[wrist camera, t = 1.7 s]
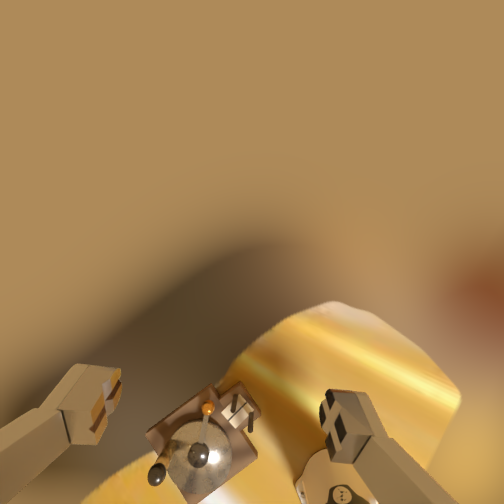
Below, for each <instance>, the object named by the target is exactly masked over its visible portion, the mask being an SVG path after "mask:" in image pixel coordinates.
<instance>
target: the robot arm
mask: <svg viewBox="0 0 504 504" xmlns="http://www.w3.org/2000/svg"><path fill="white" fill-rule="evenodd" d="M120 375H121V371H120V368H111V367H103V366H95V365H86V364H75V365H74V366H73V367H71V368H70V370H69V371H68V372H67V373H66V375H65V376H64V377H63V378H62V380H61V381H60V383H58V385H57V386H56V387H55V388H54V390H53V391H52V392H51V393H50V395H49V396H48V397H47V398H46V400H45V401H44V402H43V403H42V405H41V406H40V407H39V408H33V409H32V410H30V411H28V412H27V413H25V414H24V415H22V416H20V417H19V418H17V419H16V420H14V421H12V422H11V423H9V424H8V425H6V426H4V427H3V428H1V429H0V504H6V503H7V502H9V501H10V500H11V499H12V498H13V497H14V496H15V495H16V494H17V493H18V492H20V491H21V490H22V489H23V488H24V487H25V486H26V485H27V484H28V483H29V482H31V481H32V480H33V479H34V478H35V477H36V476H37V475H38V474H39V473H41V472H42V471H43V470H44V469H45V468H46V467H47V466H48V465H49V464H50V463H52V461H53V460H55V459H56V458H57V457H58V456H59V455H60V454H61V453H63V451H65V450H66V449H67V448H68V447H69V446H70V444H83V445H84V444H85V445H97V443H98V442H99V440H100V437H101V435H102V434H103V432H104V430H105V428H106V426H107V416H108V415H109V414H110V413H112V412H113V411H114V410H115V408H116V406H117V404H118V402H119V398H120V395H121V391H122V382H120V380H119V377H120ZM325 396H326V399H325V400H323V401H322V402H321V405H320V409H319V417H320V423H321V427H322V429H323V430H324V432H325V433H326V434H327V437H326V440H325V443H326V446H327V449H324V450H321V451H319V452H317V453H315V454H314V455H313V456H312V457H311V458H310V459H309V461H308V462H307V464H306V467H305V469H304V472H303V474H302V476H301V477H300V478H299V479H298V480H297V482H296V484H295V487H296V491H297V493H298V496H299V498H300V500H301V503H302V504H377V502H378V503H379V504H458V503H457V502H456V501H455V500H454V499H453V498H452V497H451V496H450V495H449V494H448V493H447V492H446V491H445V490H444V489H443V488H442V487H441V486H440V485H439V484H438V483H437V482H436V481H435V480H434V479H433V478H432V477H431V476H430V475H429V474H428V473H427V472H426V471H425V470H424V469H423V468H422V467H421V466H420V465H419V464H418V463H417V462H416V461H415V460H414V459H413V458H412V457H411V456H410V455H409V454H408V453H407V452H406V451H405V450H404V449H403V448H402V447H401V446H400V445H399V444H398V443H397V442H396V441H395V440H394V439H393V438H389V437H388V435H387V433H386V431H385V429H384V427H383V425H382V423H381V421H380V419H379V417H378V415H377V413H376V410H375V408H374V406H373V404H372V402H371V400H370V398H369V396H368V395H367V394H366V393H365V392H356V391H350V390H338V389H328V390H327V391H326V393H325ZM302 491H303V492H302Z"/></svg>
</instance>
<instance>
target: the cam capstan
mask: <svg viewBox="0 0 504 504" xmlns="http://www.w3.org/2000/svg"><path fill="white" fill-rule="evenodd" d="M214 409H215V405H214V402H213V401H212V400H206V401H204V402H203V404H202V406H201V411H202V413H203V414H204V417H203V419H194V420H190V421H188V422H186V423H184V424H182V425H181V426H180V427H179V428H178V429H177V430H176V431H175V432H174V434H173V435H172V437H171V439H170V440H168V441H167V442H166V444H165V445H164V447H163V449H162V451H161V453H160V455H159V456H158V458H157V460H156V462H155V464H154V465H153V466H152V467H151V468H150V470H149V472H148V482H149V484H150V485H151V486H158V485H160V484H161V483H162V482H163V480H164V479H165V476H166V471H168V474H169V476H170V478H171V479H172V481H173V482H174V483H175V484H176V485H177V486H178V487H179V488H181V489H182V490H184V491H186V492H189V493H192V494H205V493H209V492H211V491H213V490H215V489H216V488H218V487H219V486H220V485H221V484H222V483H223V482H224V480H225V479H226V477H227V475H228V473H229V471H230V467H231V461H232V447H231V443H230V440H229V438H228V436H227V434H226V433H225V431H224V430H223V429H222V428H221V427H220V426H219V425H217V424H216V423H214V422H212V421H210V420H208V419H209V415H211V414H212V413H213V412H214Z"/></svg>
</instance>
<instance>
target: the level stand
mask: <svg viewBox="0 0 504 504" xmlns="http://www.w3.org/2000/svg"><path fill="white" fill-rule="evenodd" d="M206 400H212V401H213V402H214V405H215V409H214V412H213V413H212V414H211V415H209V419H208V420H210V421H212V422H214V423H216V424H217V425H219V426H220V427H221V428H222V429H223V430H224V431H225V433H226V434H227V436H228V438H229V440H230V443H231V447H232V461H231V467H230V471H229V473H228V475H227V477H226V479H225V480H224V482H223V483H222V484H221V485H223V484H224V483H225V482H227V481H228V480H229V479H231V478H232V477H233V476H235V475H236V474H237V473H238V472H240V471H241V470H242V469H244V468H245V467H246V466H248V465H249V464H250V463H252V462H253V461H254V460H256V459H257V456H258V452H257V450H256V449H255V447H254V446H253V444H252V443H251V441H250V440H249V438H248V437H247V435H246V434H245V432H244V431H243V429H244V428H245V427H246V426H248V432H249V433H252V432H253V421H254V420H256V419H257V418H258V417H260V416H261V410H260V409H259V408H258V406H257V405H256V403H255V402H254V400H253V399H252V397H251V396H250V394H249V393H248V391H247V390H246V388H245V387H244V386H243V384H242V383H241V381H240V382H239V383H237V384H236V385H235V386H233V387H232V388H231V389H229V390H228V391H226V392H225V393H224V394H222V395H221V396H220V395H219V394H218V392H217V391H216V389H215V388H214V386H213V385H212V383H211V384H209V385H208V386H207V387H205V388H204V389H203V390H201V391H200V392H199V393H197V394H196V395H194V396H193V397H192V398H191V399H189V400H188V401H186V402H185V403H184V404H182V405H181V406H180V407H178V408H177V409H176V410H174V411H173V412H172V413H170V414H169V415H167V416H166V417H165V418H163V419H162V420H161V421H159V422H158V423H157V424H155V425H154V426H153V427H151V428H150V429H149V430H148V431H147V432H146V434H145V436H146V437H147V439H148V440H149V442H150V443H151V445H152V447H153V449H154V450H155V452H156V453H157V455H158V456H159V455H160V453H161V451H162V449H163V447H164V445H165V444H166V442H167V441H168V440H170V439H171V437H172V435H173V434H174V432H175V431H176V430H177V429H178V428H179V427H180V426H181V425H182V424H184V423H186V422H188V421H190V420H194V419H203V417H204V414H203V413H202V411H201V406H202V404H203V402H204V401H206ZM221 485H220V486H221ZM220 486H219V487H220ZM177 487H178V486H177ZM219 487H218V488H219ZM178 488H179V487H178ZM216 489H217V488H216ZM216 489H215V490H216ZM179 490H180V492H181V493H182V495H183V496H184V498H185V500H186V501H187V503H188V504H197V503H199V502H200V501H201V500H203V499H204V498H205V497H207V496H208V495H209V494H211V493H212V492H213V491H215V490H213V491H211V492H209V493H205V494H192V493H189V492H186V491H184V490H182V489H181V488H179Z"/></svg>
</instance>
